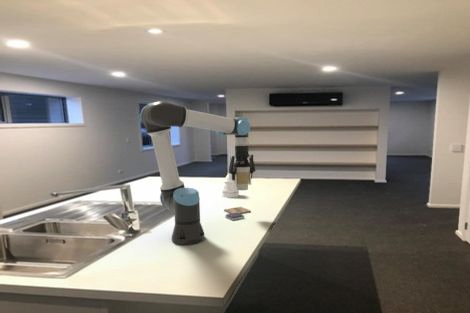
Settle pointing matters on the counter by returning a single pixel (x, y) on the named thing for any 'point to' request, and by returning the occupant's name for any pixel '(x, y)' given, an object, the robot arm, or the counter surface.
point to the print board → (237, 210)
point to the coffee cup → (242, 175)
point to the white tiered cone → (229, 187)
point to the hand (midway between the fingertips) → (242, 185)
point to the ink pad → (234, 216)
